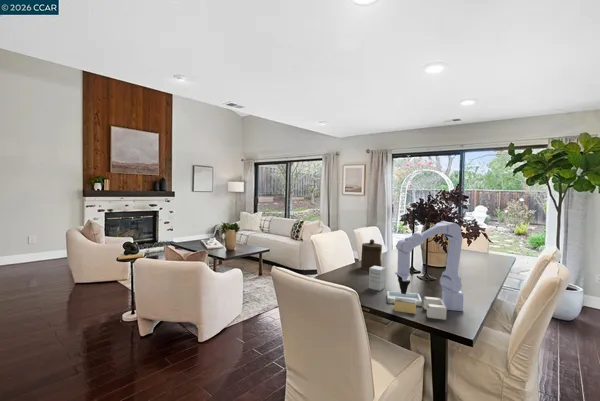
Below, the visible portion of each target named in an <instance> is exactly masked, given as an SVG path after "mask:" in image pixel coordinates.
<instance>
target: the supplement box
mask: <svg viewBox="0 0 600 401" xmlns="http://www.w3.org/2000/svg"><path fill="white" fill-rule="evenodd" d="M368 273H369V274H368V275H369V276H368V277H369V278H368V288H369V289H370V290H375V291H379V292H380V291H382V290H383V289H385V288H386V267H385V266H381V267H379V266H373V267H370V268H369V272H368Z"/></svg>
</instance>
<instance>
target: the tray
mask: <svg viewBox="0 0 600 401" xmlns="http://www.w3.org/2000/svg"><path fill="white" fill-rule="evenodd" d="M395 297H397V298H405V299H412V300H416V307H423V299H422V298H421V296H420V293H417V292H406V294H401V291H394V290H386V298H387V304H394V303H395Z"/></svg>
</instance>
